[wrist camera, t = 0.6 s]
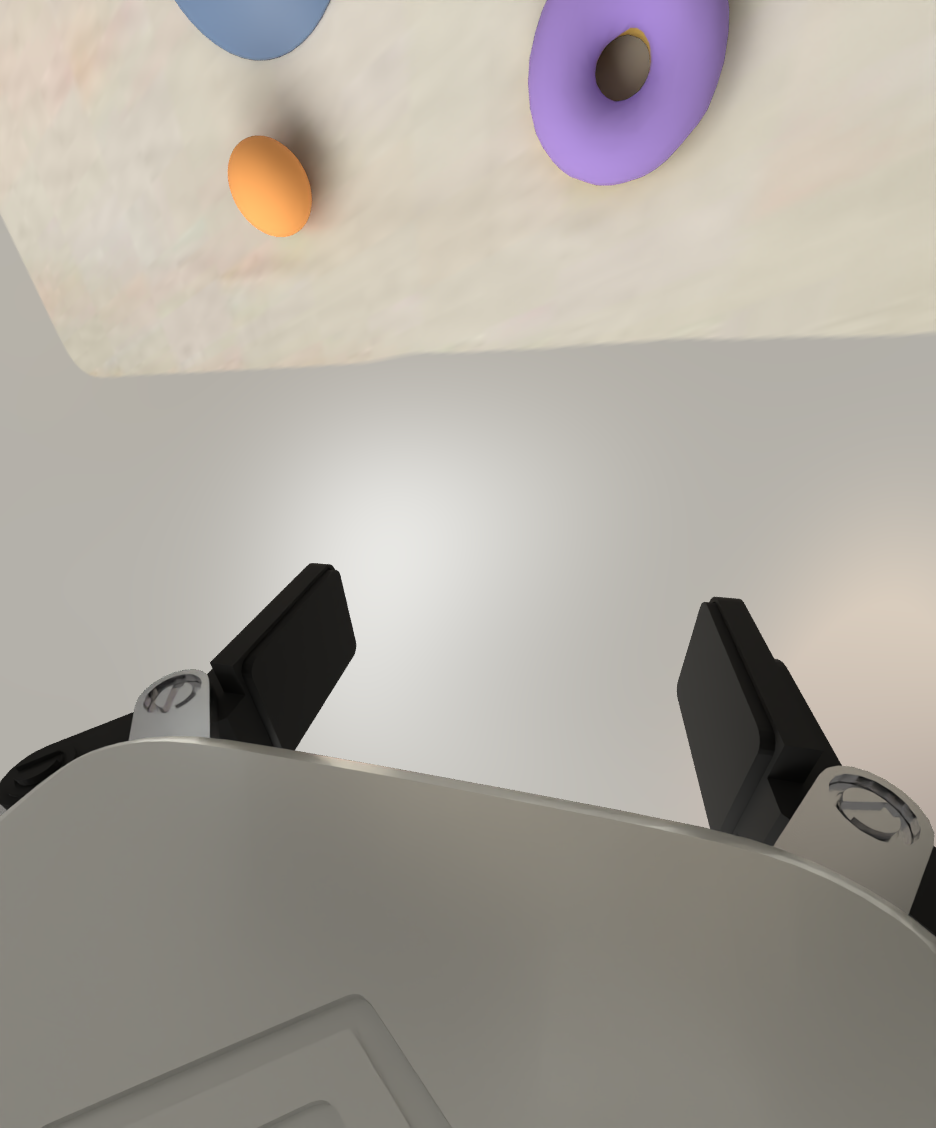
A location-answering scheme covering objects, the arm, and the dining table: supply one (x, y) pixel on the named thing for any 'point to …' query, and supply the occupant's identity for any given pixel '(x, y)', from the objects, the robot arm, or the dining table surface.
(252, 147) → the ball
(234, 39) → the disc
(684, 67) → the donut
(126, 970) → the robot arm
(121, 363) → the dining table surface
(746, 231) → the dining table surface
